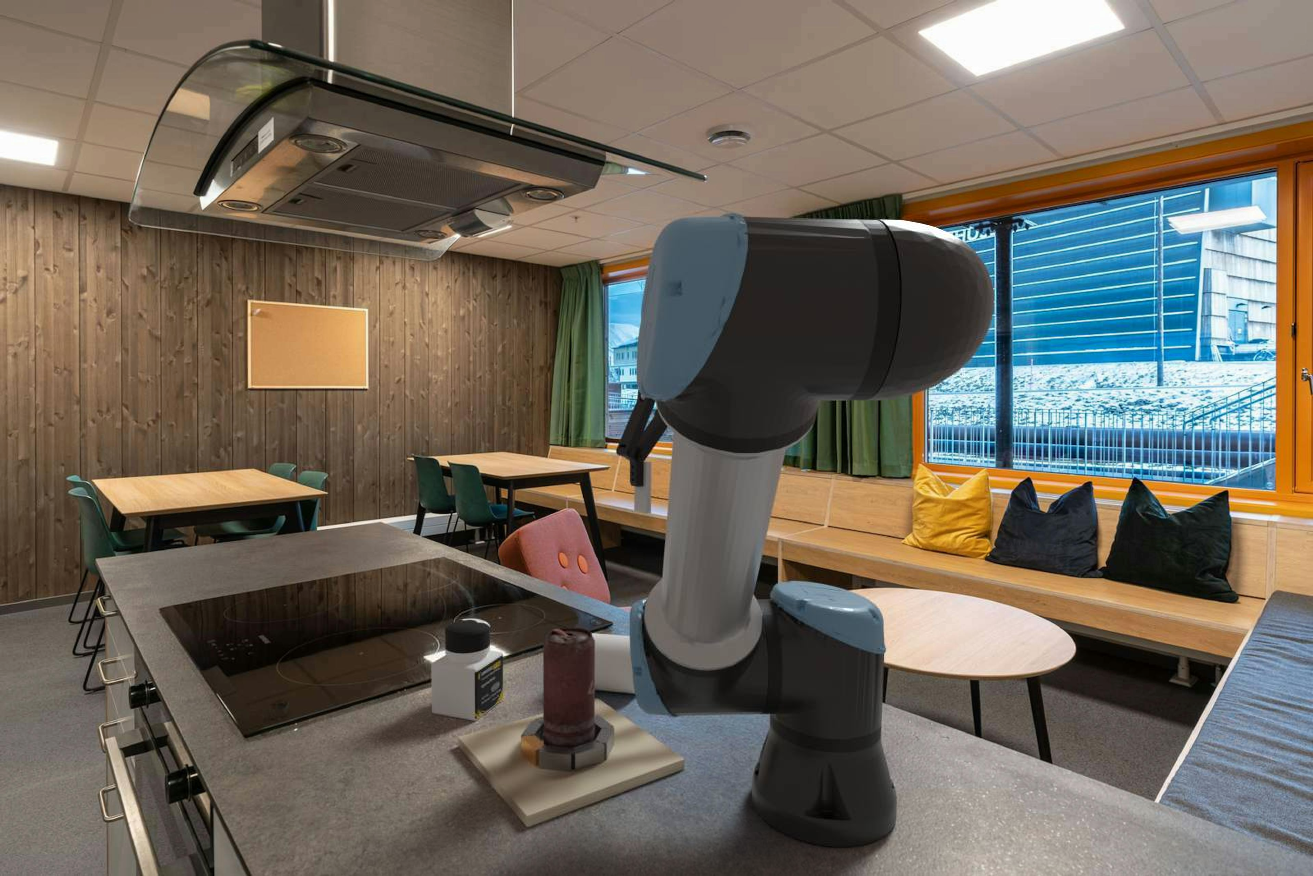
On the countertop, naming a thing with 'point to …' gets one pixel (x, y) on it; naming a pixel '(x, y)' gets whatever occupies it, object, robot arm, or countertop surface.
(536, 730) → the socket
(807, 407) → the robot arm
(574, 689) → the can
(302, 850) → the countertop surface
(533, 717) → the hub board
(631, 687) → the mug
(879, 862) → the countertop surface
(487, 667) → the medicine bottle
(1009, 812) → the countertop surface
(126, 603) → the countertop surface
